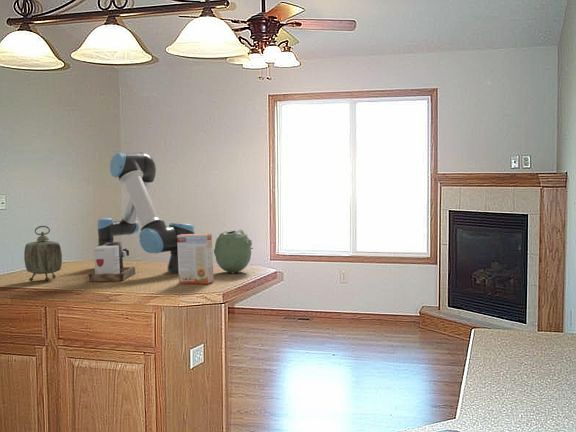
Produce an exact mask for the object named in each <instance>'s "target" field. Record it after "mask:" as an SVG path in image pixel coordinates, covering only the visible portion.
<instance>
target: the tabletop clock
mask: <svg viewBox="0 0 576 432" xmlns="http://www.w3.org/2000/svg"><path fill="white" fill-rule="evenodd" d="M40 228H46V229H48V231H47V232H45V233H44V231H41V232H40V233H38V232H37V230H38V229H40ZM50 231H51V229H50V227H49V226H47V225H39V226H37V227H36V228H35V229H34V233H35V234H36V235H38V236H37V239H36V241H32V242H28V243H26V244H25V246H24V254H23V255H24V256H23V257H24V258H23V260H24V266H25V270H26V272H27V273H31V274H32V276H31V277H29V282H32V281H34V277H35V276H36V275H45V278H44V280H45V281H46V282H49V280H50V278H49V277H48V274H51V275H52V277H51V278H53V279H56V274H55V273H56V272H59V271H60V270H61V269H62V265H63V263H62V262H63V253H62V246H61V245H60V243H59V242H58V241H50V239H49V237H48V236H46V235H48V234H50Z"/></svg>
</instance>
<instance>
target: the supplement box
mask: <svg viewBox="0 0 576 432" xmlns="http://www.w3.org/2000/svg"><path fill="white" fill-rule="evenodd" d="M93 250H94V251H93V254H94V272H95V274H118V273H120V265H119V246H99V247H97V246H96V247H94V249H93Z"/></svg>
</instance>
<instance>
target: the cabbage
mask: <svg viewBox="0 0 576 432" xmlns="http://www.w3.org/2000/svg"><path fill="white" fill-rule="evenodd" d="M248 236H249V235H248V234H245V232H244V230H243V229H238V230H233V231H232V230H231V231H227V230H224V232H220V234H219V236H218V237H217V238H216V240H215V244H214V249H213V253H214V256H215V261H216V262H217V265H218V266H219V267H220V268H221V269H222V270H223V271H225V272H226V273H232V274H235V273H239V272H241V271H243V270H244V269H246V267H247V266H248V265H249V263H250V260H251V259H252V258H251V256H252V249H254V247H252V245H253V241H252V239H250V238H249V237H248Z"/></svg>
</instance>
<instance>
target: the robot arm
mask: <svg viewBox="0 0 576 432" xmlns="http://www.w3.org/2000/svg"><path fill="white" fill-rule="evenodd" d="M109 171H110V174H111V176H112V177H113V178H118V180H119V182H120V184H121V185H124V186H125V188H126V190H127V193H128V196H129V198H128V201H127V204H126V206H125V208H124V211H123V212H124V213H123V215H122V218H121V220H115V221H113V218H112V217H105V218H99V219H98V220H97V236H98V239H97V240H98V241H97V243H98V245H97V246H96V247H99V246H113V242H115V241H114V237H118V236H119V237H120V236H127V235H128V236H131V235H135V234H137V233H138V232H139V236H138V238H139V244H140V246H141V248H142V250H143V251H144V252H146V253H148V254H160V253H165V252H170V257H169V259H168V264H167V268H166V270H167V273H169V274H179V272H178V247H177V235H181V234H196V233H195V227H194V224H192V223H178V222H177V223H175V222H169V224H168V226H167V225H166V223H165V220H163V219H162V218H160V217H159V215H158V212H157V210H156V208H155V205H154V203H153V200H152V199H151V198H152V197H151V196H150V194H149V189H150V186H151V184H152V183H153V182H154V181H155V178H156V173H157V172H156V171H157V168H156V163H155V161H154V159H153V158H152V157H151V156H150V155H149V154H148V153H146V152H118V153H117V152H116V153H115V154H114V155H113V156H112V157H111V159H110V163H109ZM138 219H139V221H140V224H141V227H140V225H139V222H138ZM139 227H140V228H139ZM139 230H140V231H139ZM122 254H123V259H127V257H129V256H130V251H129V249H127V248H122Z"/></svg>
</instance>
